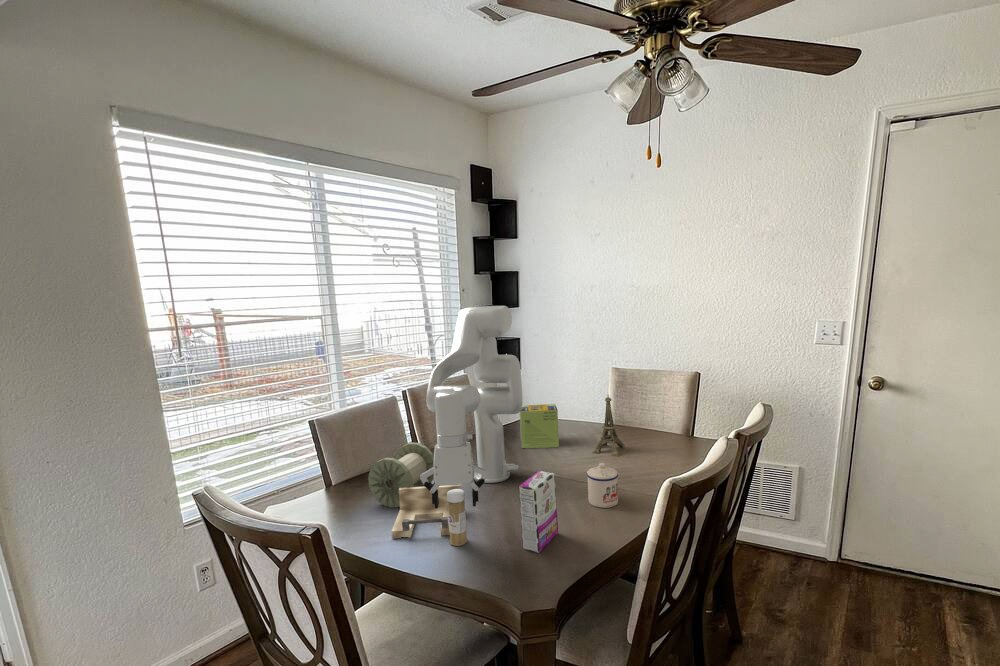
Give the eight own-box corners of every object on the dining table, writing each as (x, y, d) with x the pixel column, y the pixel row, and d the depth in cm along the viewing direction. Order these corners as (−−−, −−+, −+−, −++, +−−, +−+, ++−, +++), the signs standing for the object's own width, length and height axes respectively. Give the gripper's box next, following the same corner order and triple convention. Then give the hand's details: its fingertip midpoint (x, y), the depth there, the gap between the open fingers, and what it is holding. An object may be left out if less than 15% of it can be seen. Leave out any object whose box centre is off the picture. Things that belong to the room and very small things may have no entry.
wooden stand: (462, 510, 143) (460, 484, 142) (459, 534, 129) (457, 505, 128) (401, 514, 143) (399, 488, 142) (391, 538, 128) (389, 509, 128)
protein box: (559, 447, 195) (558, 409, 194) (521, 449, 195) (519, 411, 194) (556, 439, 205) (555, 403, 204) (520, 441, 206) (518, 405, 204)
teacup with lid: (607, 511, 137) (605, 472, 136) (581, 502, 144) (580, 464, 143) (630, 498, 146) (629, 460, 144) (605, 489, 152) (603, 453, 151)
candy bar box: (541, 529, 130) (538, 469, 128) (558, 533, 127) (556, 472, 125) (521, 549, 120) (517, 485, 119) (539, 554, 117) (535, 488, 116)
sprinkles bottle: (446, 543, 125) (442, 492, 124) (458, 535, 128) (455, 486, 127) (458, 548, 122) (455, 497, 121) (471, 540, 125) (468, 490, 124)
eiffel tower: (627, 448, 189) (625, 385, 187) (618, 457, 181) (616, 391, 178) (601, 445, 195) (599, 384, 193) (591, 453, 186) (589, 389, 184)
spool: (412, 510, 145) (409, 461, 144) (370, 504, 150) (366, 457, 149) (438, 488, 161) (435, 444, 159) (399, 484, 166) (396, 441, 165)
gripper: (486, 433, 126) (489, 497, 128) (420, 437, 126) (423, 501, 127) (486, 442, 119) (489, 509, 120) (415, 445, 119) (419, 513, 120)
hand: (455, 505), depth 124 cm, fingers open, 9 cm apart
